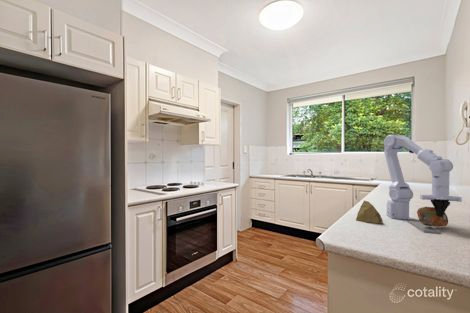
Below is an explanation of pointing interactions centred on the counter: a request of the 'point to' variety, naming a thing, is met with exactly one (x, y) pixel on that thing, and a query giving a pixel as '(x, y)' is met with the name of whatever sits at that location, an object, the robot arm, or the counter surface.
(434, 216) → the tin
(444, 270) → the counter surface
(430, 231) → the gray sheet
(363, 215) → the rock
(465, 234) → the counter surface
